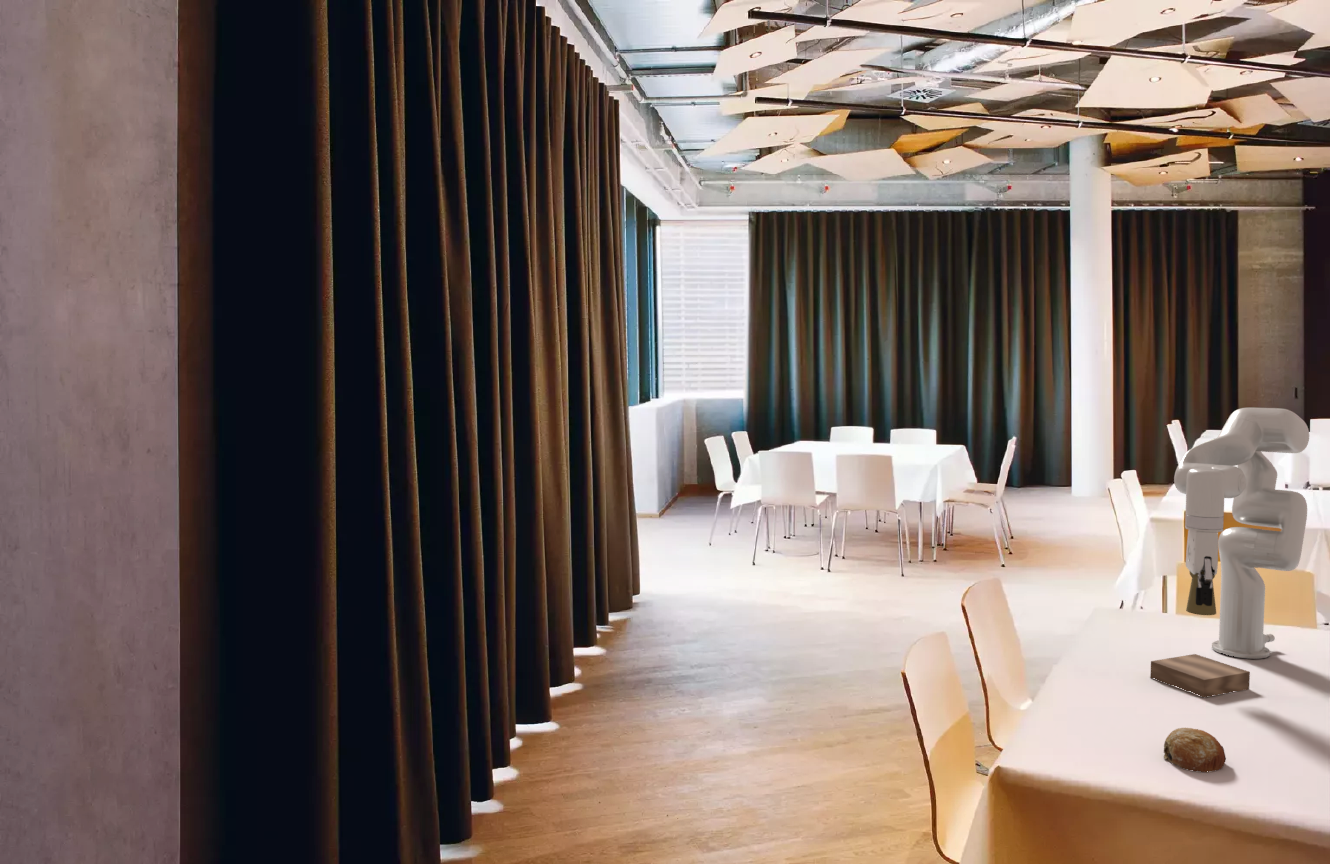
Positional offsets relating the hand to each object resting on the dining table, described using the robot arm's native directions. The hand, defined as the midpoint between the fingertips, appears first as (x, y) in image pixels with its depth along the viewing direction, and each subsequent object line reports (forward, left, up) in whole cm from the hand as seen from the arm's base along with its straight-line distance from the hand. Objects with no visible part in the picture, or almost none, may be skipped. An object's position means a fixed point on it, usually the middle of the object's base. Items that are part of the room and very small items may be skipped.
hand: (1201, 601), depth 217 cm
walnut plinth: (0, 0, -19) cm, 19 cm away
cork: (0, 0, -2) cm, 2 cm away
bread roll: (+37, +30, -19) cm, 52 cm away
